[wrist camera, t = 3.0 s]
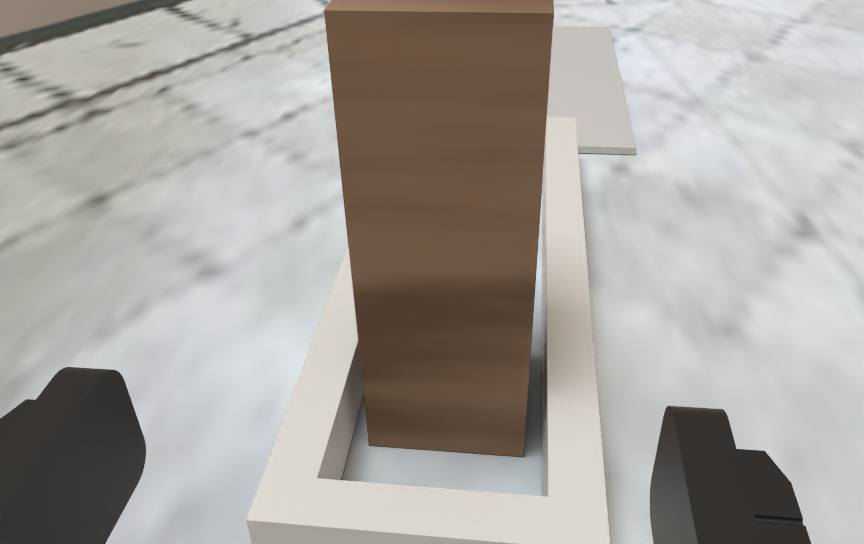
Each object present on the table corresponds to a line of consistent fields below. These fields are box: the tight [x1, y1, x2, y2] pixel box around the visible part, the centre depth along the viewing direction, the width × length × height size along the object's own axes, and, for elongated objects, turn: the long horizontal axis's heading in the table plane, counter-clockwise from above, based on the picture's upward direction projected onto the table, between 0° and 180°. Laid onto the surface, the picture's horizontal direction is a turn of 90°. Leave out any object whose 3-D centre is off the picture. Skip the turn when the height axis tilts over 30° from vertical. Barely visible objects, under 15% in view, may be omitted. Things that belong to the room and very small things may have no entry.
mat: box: [547, 26, 636, 155], centre depth 50 cm, size 20×16×1 cm
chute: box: [246, 116, 610, 544], centre depth 30 cm, size 26×9×2 cm, turn 173°
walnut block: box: [324, 0, 554, 457], centre depth 23 cm, size 5×5×14 cm
